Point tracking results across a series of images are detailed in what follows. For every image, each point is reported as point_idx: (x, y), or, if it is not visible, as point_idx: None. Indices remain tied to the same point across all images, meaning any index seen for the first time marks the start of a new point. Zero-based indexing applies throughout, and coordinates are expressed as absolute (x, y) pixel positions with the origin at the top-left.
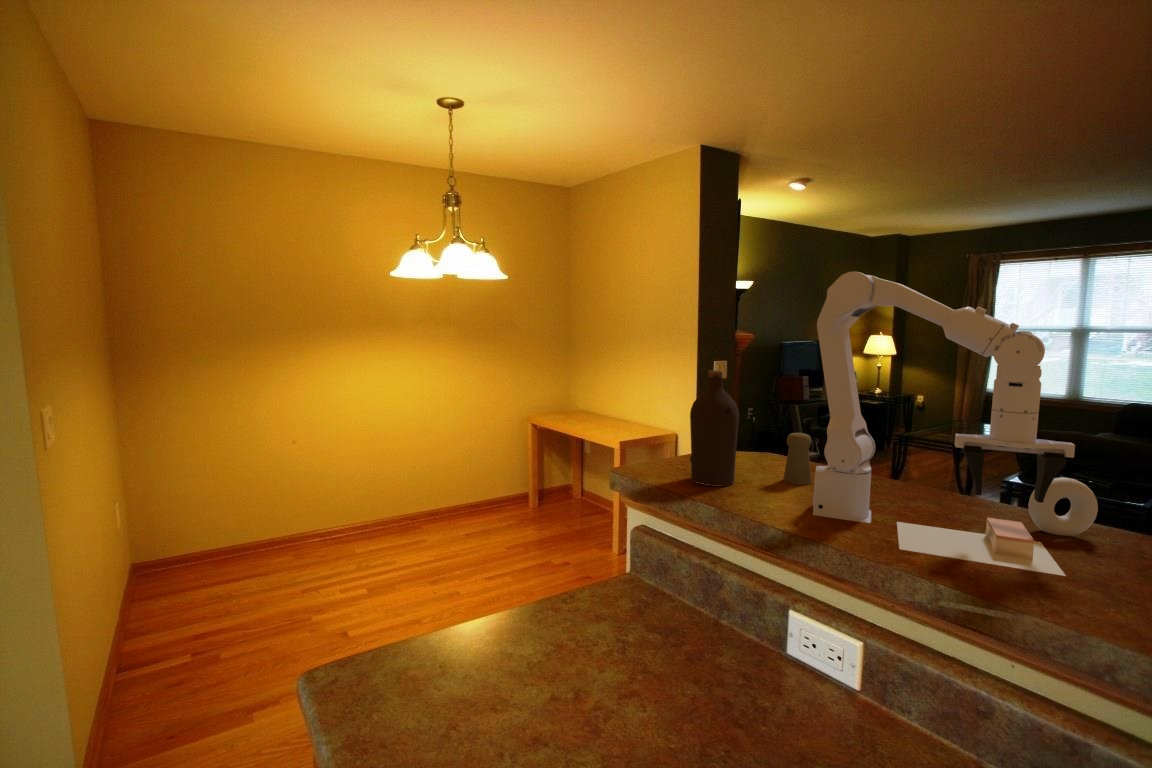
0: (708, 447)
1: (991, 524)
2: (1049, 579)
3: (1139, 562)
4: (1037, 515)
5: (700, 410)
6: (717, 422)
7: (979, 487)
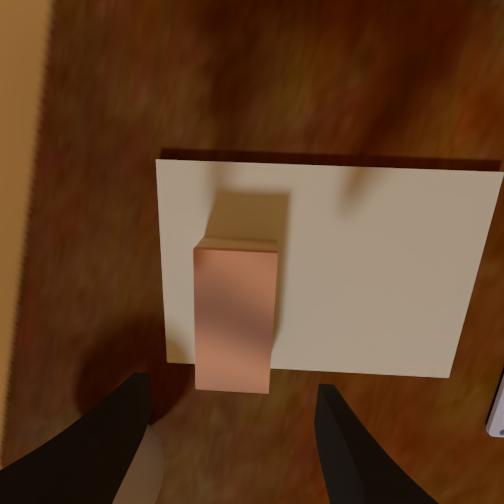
0: None
1: (270, 340)
2: (190, 149)
3: (16, 336)
4: (151, 447)
5: None
6: None
7: (335, 402)
